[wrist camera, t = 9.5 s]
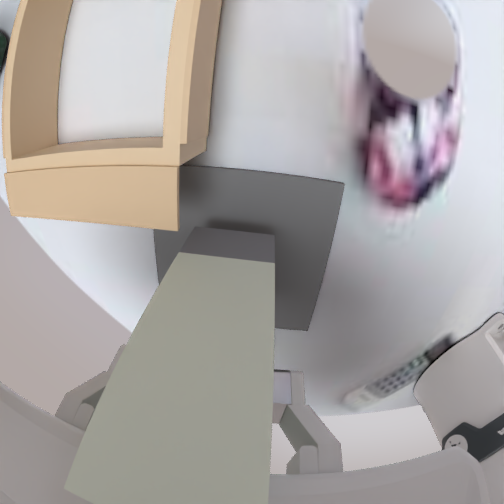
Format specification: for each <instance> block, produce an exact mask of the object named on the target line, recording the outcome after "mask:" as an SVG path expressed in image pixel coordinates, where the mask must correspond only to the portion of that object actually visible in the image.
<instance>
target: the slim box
mask: <svg viewBox="0 0 504 504" xmlns="http://www.w3.org/2000/svg"><path fill="white" fill-rule="evenodd" d="M274 331H275V235H270V234H261V233H252V232H243V231H234V230H224V229H215V228H205V227H194V229H193V230H192V232H191V233H190V235H189V237H188V238H187V240H186V241H185V243H184V245H183V246H182V248H181V249H180V251H179V253H178V254H177V256H176V258H175V259H174V261H173V263H172V264H171V266H170V268H169V269H168V271H167V273H166V274H165V276H164V278H163V279H162V281H161V283H160V284H159V286H158V288H157V290H156V291H155V293H154V295H153V297H152V298H151V300H150V302H149V304H148V306H147V307H146V309H145V311H144V313H143V315H142V316H141V318H140V320H139V322H138V324H137V326H136V327H135V329H134V331H133V333H132V335H131V337H130V339H129V341H128V343H127V344H126V346H125V348H124V350H123V352H122V354H121V356H120V358H119V360H118V362H117V364H116V366H115V368H114V370H113V372H112V374H111V376H110V378H109V380H108V382H107V385H106V387H105V389H104V391H103V393H102V395H101V397H100V399H99V402H98V404H97V406H96V408H95V411H94V413H93V415H92V417H91V420H90V422H89V424H88V427H87V429H86V431H85V434H84V436H83V438H82V441H81V443H80V446H79V448H78V451H77V453H76V456H75V459H74V461H73V464H72V467H71V469H70V472H69V475H68V477H67V480H66V483H65V486H64V489H66V490H68V491H69V492H71V493H73V494H75V495H77V496H79V497H81V498H83V499H85V500H87V501H89V502H91V503H93V504H268V496H269V479H270V459H271V437H272V413H273V381H274Z"/></svg>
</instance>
